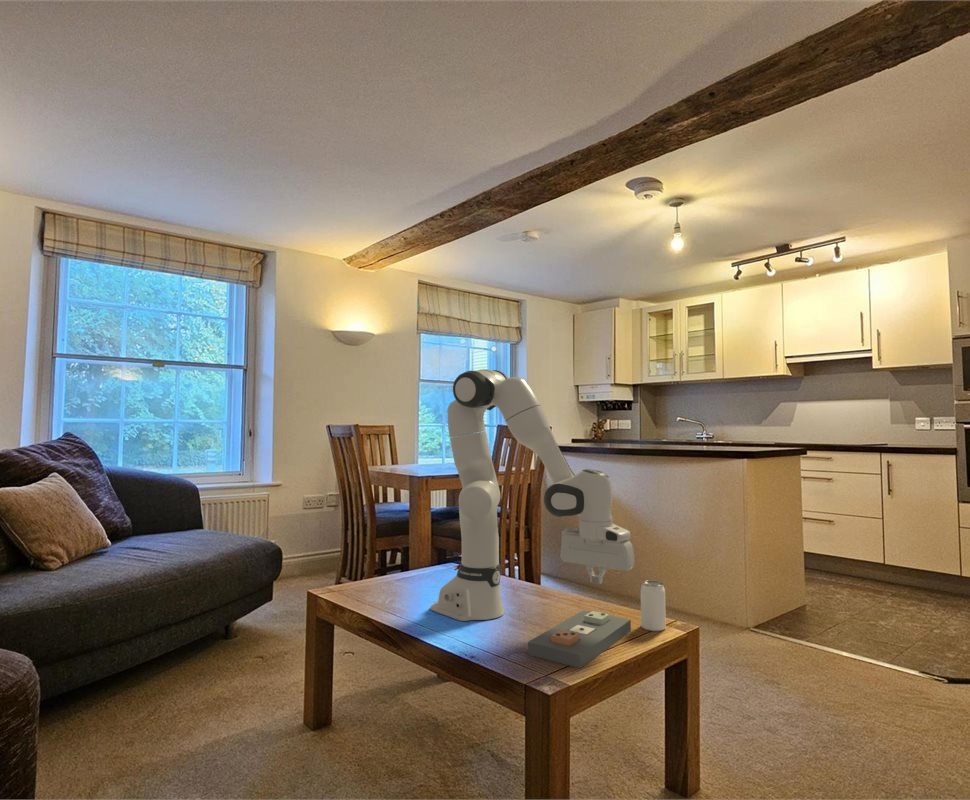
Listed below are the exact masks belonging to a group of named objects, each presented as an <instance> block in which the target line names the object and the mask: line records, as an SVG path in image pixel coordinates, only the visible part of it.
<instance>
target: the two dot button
mask: <svg viewBox="0 0 970 800" xmlns="http://www.w3.org/2000/svg"><path fill="white" fill-rule="evenodd" d="M610 616H611V614H608V613H604V612H601V611H596V610H592V611H590V613H588V614H586V615H585V616H584V622H588V623H592V624H597V625H602V626H603V625H604V624H606V623H607V622H609V621H610Z"/></svg>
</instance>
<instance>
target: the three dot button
mask: <svg viewBox="0 0 970 800" xmlns="http://www.w3.org/2000/svg"><path fill="white" fill-rule="evenodd" d="M578 641H579V633H575V632H570V631H566V630H559V631H558V632H556V633H554V634H553V635H551V642H553V643H557V644H561V645H565V646H569V647H571V646H572V645H574V644H575V643H577V642H578Z"/></svg>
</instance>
